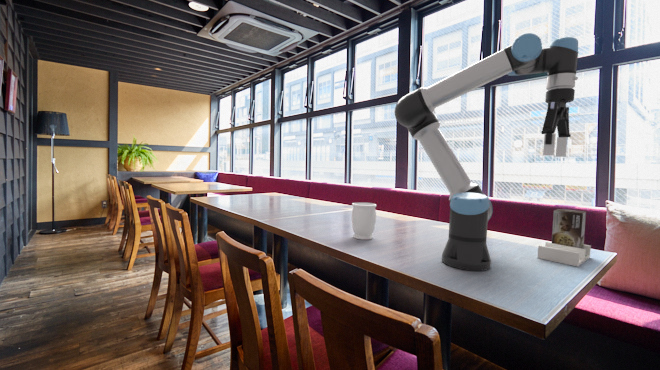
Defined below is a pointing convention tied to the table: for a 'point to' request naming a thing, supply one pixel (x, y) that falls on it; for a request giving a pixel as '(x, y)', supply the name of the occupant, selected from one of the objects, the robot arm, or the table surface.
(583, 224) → the coffee box
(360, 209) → the jar
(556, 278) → the table surface
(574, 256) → the comb rack
